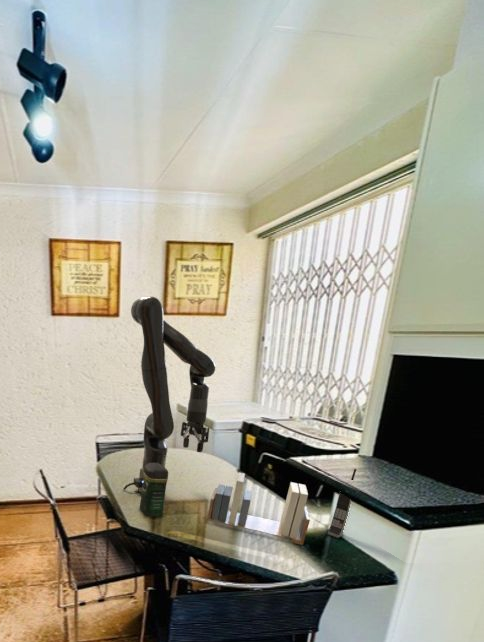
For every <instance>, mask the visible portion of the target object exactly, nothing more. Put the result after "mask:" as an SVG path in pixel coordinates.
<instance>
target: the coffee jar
mask: <svg viewBox="0 0 484 642" xmlns="http://www.w3.org/2000/svg"><path fill="white" fill-rule="evenodd" d="M168 479H169V470H168V469H167V468H166V466H165V467H163V466H162V465H160V464H159V463H148V464H147V465H145V468H144V478H143V487H142V493H140V494H141V495H140V501H139V510H140V512H141V513H142V514H143V516H145V517H148V518H149V517H150V518H159V517H162V516H163V515H164V507H165V500H166V499H165V498H166V491H167V490H166V489H167V484H168Z"/></svg>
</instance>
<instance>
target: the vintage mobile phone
mask: <svg viewBox="0 0 484 642" xmlns="http://www.w3.org/2000/svg"><path fill="white" fill-rule="evenodd" d="M352 472H353V473H352V476H351V478H350V481H351V480H353V481H354V479H355V476H356V473H357V468H354V469H353V471H352ZM350 504H351V499H350V498H348V497H347V496H345V495H344V494H341V493H340V492H339V494H338V497H337V502H336V506H335V509H334V513H333V516H332V519H331V523H330V527H329V528H328V530H327V535H329V536H331V537H334V538H335V539H339V538H340V537H341V536H342V535H343V534H344V532H343V530H344V531H345V529H344V526H345V523H346V519H347V516H348V512H349V508H350ZM348 517H349V516H348ZM347 520H348V519H347ZM346 524H347V523H346ZM345 527H346V526H345Z"/></svg>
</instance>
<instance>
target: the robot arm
mask: <svg viewBox="0 0 484 642" xmlns="http://www.w3.org/2000/svg"><path fill="white" fill-rule="evenodd" d="M161 302H162V301H160V299H158V298H157V297H155V296H143V297H139V298H137V299H136V300H134V301H133V303H132V305H131V307H130V315H131V317H132V319H133V321H134V322H135V323H137V324H138V325H139V326H141V330H142V336H143V347H142V354H141V360H140V369H141V370H140V371H141V378H142V383H143V386H144V387H143V388H144V390H145V392H146V394H147V397H148V400H149V402H150V405H151V413H150V414H148V416H147V417H146V419H145V422H144V426H143V427H144V429H143V441H142V442H143V447H144V449H143V458H142V466H141V468H140V469H139V474H138V475H139V476H138V477H134V478H133V482H130V483H127V484H126V485H125V486H124V487H123V490H126V489H127V488H128V487H131V486H133V485H134V487H135V488H136V489H137V491H138V492H139V493H140V494H142V487H143V478H144V468H145V465H147V464H148V463H159V464H160V465H162V466H163V467H165V468H166V463H167V457H168V445H167V444H166V440H167V439H169V438H170V437H171V436H172V434H173V432H174V429H175V423H174V418H173V413H172V408H171V403H170V391H169V381H168V370H167V360H166V351H165V346H166V347H167V348H168V349H169V350H170V351H171V352H172V353H173V354H174V355H175V356H176V357H177V358H178V359H180V360H181V362H183V363H185V364H186V365H189V372H188V373H189V374H188V375H189V382H190V392H189V399H188V404H187V412H186V421H182V423H181V429H180V437H182V438H183V441H182V442H183V443H182V444H183V445H182V447H183V448H185V449H186V448H189V445H190V438H191V436H193V437H194V436H195V439H196V440H197V445H196V446H197V447H196V453H202V452H203V450H204V444H205V443H208V442H209V438H210V437H209V435H210V427H209V426H204V424H205V423H206V419H207V414H208V406H209V405H208V401H209V392H210V387H209V385H208V384H207V383H206V379H205V378H210V377H211V376H213V375H214V374H215V371H216V364H215V362H214V360H213V359H212V358H211V357H210V356H209V355H208V354H206V353H205V352H203V351H202V350H200V349H199V348H197V346H196V345H194V343H193V342H192V341H191V340H189V338H188V337H186V335H184V334H183V333H182V332H180V331H179V330H178V329H176V328H175V327H174V326H171V325H170V324H169V323H168V322H167V321H166V320H165V319H164V309H163V305H162V303H161Z"/></svg>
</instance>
